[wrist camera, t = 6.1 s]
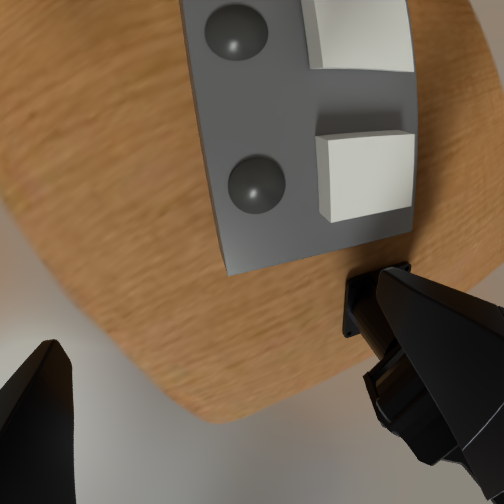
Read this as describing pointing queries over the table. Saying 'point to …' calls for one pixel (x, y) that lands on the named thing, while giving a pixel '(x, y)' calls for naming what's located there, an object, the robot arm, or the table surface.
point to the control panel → (282, 130)
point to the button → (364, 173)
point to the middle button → (358, 34)
